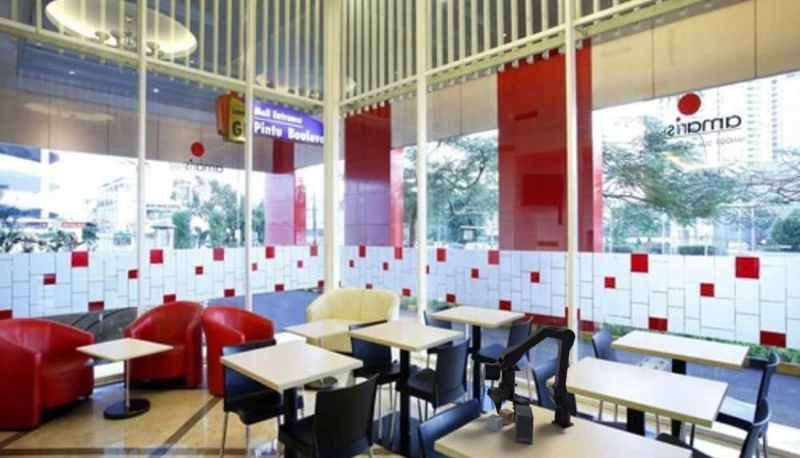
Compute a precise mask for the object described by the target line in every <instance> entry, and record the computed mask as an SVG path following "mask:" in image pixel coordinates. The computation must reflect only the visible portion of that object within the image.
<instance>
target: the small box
mask: <svg viewBox="0 0 800 458" xmlns="http://www.w3.org/2000/svg"><path fill="white" fill-rule="evenodd" d="M532 408H533V407H532V406H531V405H530V406H523V405H522V406H520V405H515V423H514V427H513V432H514V439H515V443H522V444H527V445H533V441H534V437H533V436H534V421H535V420H534V419H535V418H534V413H533V409H532Z"/></svg>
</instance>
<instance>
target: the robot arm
mask: <svg viewBox="0 0 800 458" xmlns="http://www.w3.org/2000/svg"><path fill="white" fill-rule="evenodd" d="M547 338H550V339H555V340H556V344H557V355H556V363H555V364H556V365H555V374H554V382H553V383H552V384H549V385H548V392H547V394H548V396H549V399H550V400H551V401H552V403H553V405H554V406H555V408H554V419H552V420H551V423H552V424H554V425H556V426H559V427H561V428H562V429H566V428H569V427H572V426H574V422H571V421H572V420H571V417H572V415H571V414H573V413H574V410H575V407H574V406H573V405H572V404H570V402H569V392H568V388H567V379H568V378H567V377H568V371H569V370H568V369H569V362H570V361H569V360H570V352H571V350H572V348H573V346H574V344H575V341H576V338H577V337H576V333H575V332H574V330H572V329H571V328H569V327H567V326H564V325H563V326H562V325H561V326H559V327H558V326H557V327H556V326H549V325H548V326H547V325H541V326H540V327H539V328H538V329H536V330H535V331H534V332H532V333H531V334H529V335H528V336H526V337H525V338H524V339H522V340H521V341H519V342H518V343H517V344H514V345H511V346H509V347H506V348H504V349H503V350H502V351H501V352H500V355H499V357H498V358H497V360H496V361H495V363H489V362H484V363H483V364H484V365H483V367H482V379H483V381H496V382H498V381H499V380H500V382H498V385H497V386H493V387H489V388H488V389H487V390H486V396H488V397H489V399H491V401H492V402H493V404H494V407H495V411H496V415H497V416H499V410H502V405H503V402H506V401H508V402H511V403H512V407H511V408H512V409H513V410H512V411H514V423H513V424H515V405H520V406H522V405H523V406H530V407H531V405H530V401H529V400H528V399H526V398H524V397H519V398H516V397H518V394H517V393H516V388H517V387H518V383H516V373H517V372H521V371H522V369H521V368H520V367H519V366H518V364H517V363H519V362H520V361H521V359H522V357H523V356H524V355H525V354H526V353H528V351H530V350H532V349H533V348H534V347H536V346H538V345H539V344H540V343H541V342H542V341H544V340H545V339H547Z"/></svg>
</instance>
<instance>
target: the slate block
mask: <svg viewBox="0 0 800 458" xmlns="http://www.w3.org/2000/svg"><path fill="white" fill-rule="evenodd" d="M486 420H487V421H486V424H487V425H486V429H487V430H490V431H493V432H496V433H498V432H500V431H501V430H503V427H504V423H503V417H500V416H499V415H498V414H494V413H492V414H490V415H489V416H487V418H486Z"/></svg>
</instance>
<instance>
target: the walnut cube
mask: <svg viewBox="0 0 800 458" xmlns="http://www.w3.org/2000/svg"><path fill="white" fill-rule="evenodd" d="M498 416H500V417H503V425H506V426H508V425H511V424H515V423H514V410H511V409H510V408H507V407H506V408H503V409H502V408H501V410H499V415H498Z"/></svg>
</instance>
